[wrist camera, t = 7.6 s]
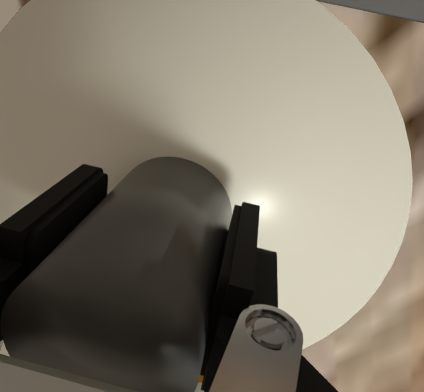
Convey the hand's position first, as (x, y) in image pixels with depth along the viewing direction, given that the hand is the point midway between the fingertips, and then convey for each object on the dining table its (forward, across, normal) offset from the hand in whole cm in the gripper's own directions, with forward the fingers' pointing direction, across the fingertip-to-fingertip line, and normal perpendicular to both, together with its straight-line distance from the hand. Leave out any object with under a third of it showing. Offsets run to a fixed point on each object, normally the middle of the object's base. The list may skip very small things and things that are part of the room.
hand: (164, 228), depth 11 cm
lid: (+2, 0, 0) cm, 2 cm away
